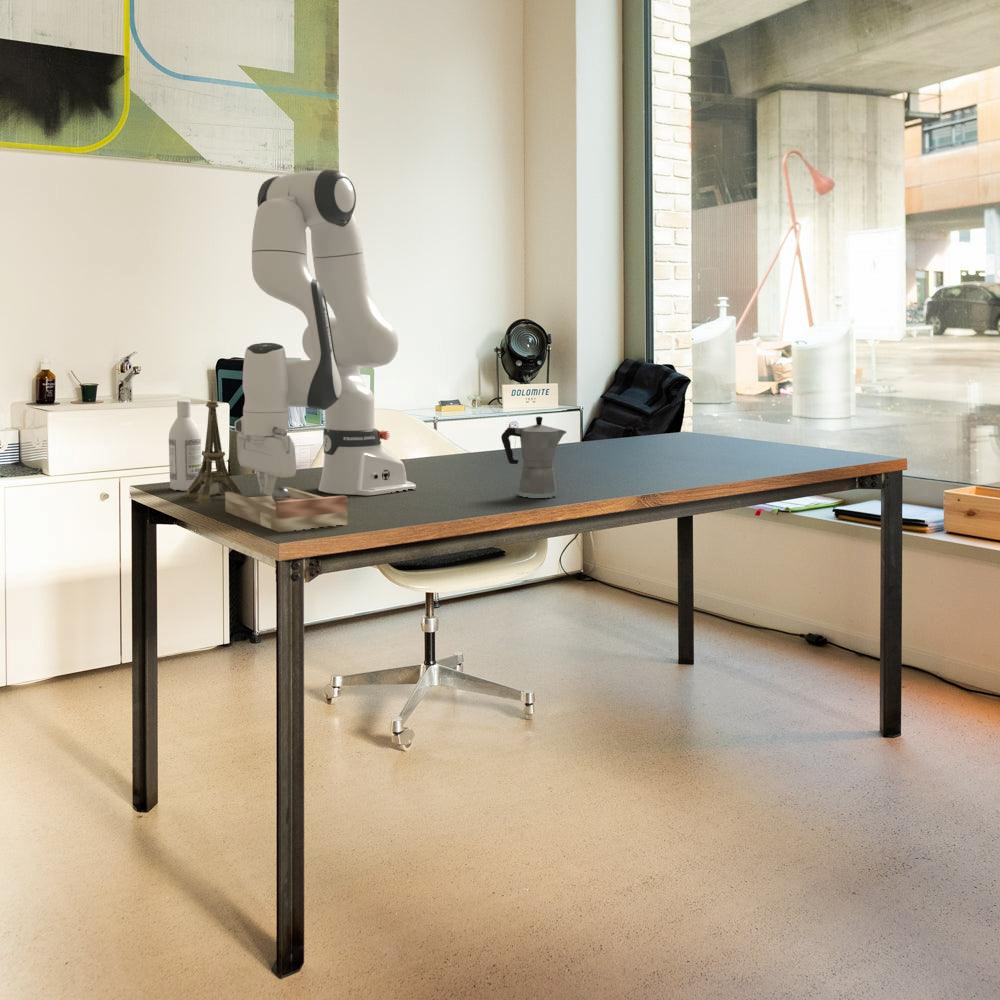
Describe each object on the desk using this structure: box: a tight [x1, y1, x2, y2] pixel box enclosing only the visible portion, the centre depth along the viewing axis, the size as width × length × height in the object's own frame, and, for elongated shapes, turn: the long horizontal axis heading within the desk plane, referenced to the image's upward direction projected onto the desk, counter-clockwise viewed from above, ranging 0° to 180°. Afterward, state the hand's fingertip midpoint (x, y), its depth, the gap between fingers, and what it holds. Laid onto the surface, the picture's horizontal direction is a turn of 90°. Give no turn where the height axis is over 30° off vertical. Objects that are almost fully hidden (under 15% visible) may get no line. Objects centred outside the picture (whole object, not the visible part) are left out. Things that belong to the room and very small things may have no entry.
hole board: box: [224, 486, 348, 533], centre depth 213 cm, size 14×25×6 cm, turn 37°
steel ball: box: [271, 486, 290, 503], centre depth 214 cm, size 4×4×4 cm
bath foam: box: [168, 399, 203, 492], centre depth 245 cm, size 7×7×20 cm
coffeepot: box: [501, 416, 567, 494], centre depth 245 cm, size 15×9×18 cm, turn 109°
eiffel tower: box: [182, 381, 243, 504], centre depth 234 cm, size 11×11×25 cm
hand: (267, 494), depth 219 cm, fingers closed
